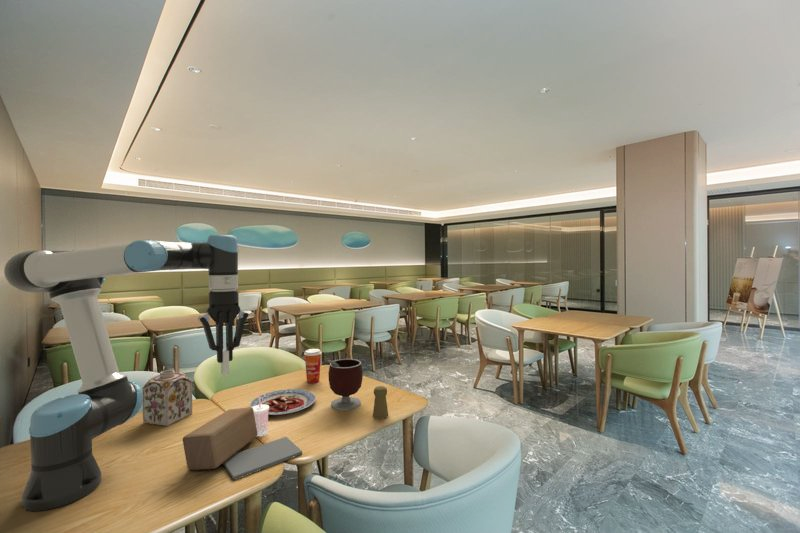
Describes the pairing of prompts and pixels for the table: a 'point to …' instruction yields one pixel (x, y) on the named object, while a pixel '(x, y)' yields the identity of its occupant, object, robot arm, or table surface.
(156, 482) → the table surface
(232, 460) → the mat
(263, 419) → the beverage cup
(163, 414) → the decorative jar
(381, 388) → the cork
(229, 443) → the block
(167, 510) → the table surface
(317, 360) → the coffee cup
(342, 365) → the mate gourd
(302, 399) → the ceramic plate
